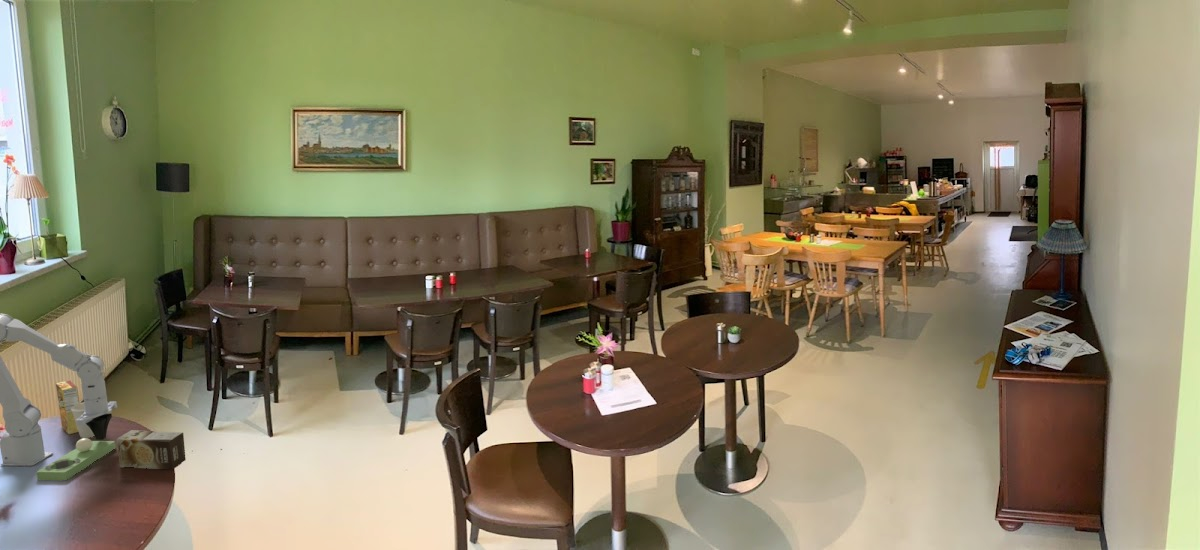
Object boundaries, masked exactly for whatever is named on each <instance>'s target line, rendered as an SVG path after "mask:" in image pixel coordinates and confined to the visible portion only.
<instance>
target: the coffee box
mask: <svg viewBox="0 0 1200 550" xmlns="http://www.w3.org/2000/svg"><path fill="white" fill-rule="evenodd" d="M116 445H117V452H118V460H119V461H118V462H119V467H120V468H124V467H134V468H133V469H146V468H147V469H148V470H170V471H173V470H174V469H176V468H177V467H179V466H181V465H182V463H183V462H185V461H186V458H187V457H186V450H185V438H184V432H175V431H158V430H156V431H155V430H154V431H153V430H137V429H136V430H135V429H134V430H133V429H131V430H129V431H128V432H126V433H124V434H122V435H120V436H119V437H117V438H116Z"/></svg>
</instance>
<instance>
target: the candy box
mask: <svg viewBox="0 0 1200 550" xmlns="http://www.w3.org/2000/svg"><path fill="white" fill-rule="evenodd" d="M55 389H56V396H57V403H58V410H59V417H60V425H61V428H62V429H63V430H64V431H65V432H66V433H67V434H68V435H73V434H74V433H79V431H78V428H77V425H76V422H75V419H74V415H73V412H72V410H71V407H72V406H74V405H76V404H79V403H80V397H79V391H78V386H77V385H75V384H74V383H73V382H72V381H71V380H66V381H60V382H57V383H55Z"/></svg>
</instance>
